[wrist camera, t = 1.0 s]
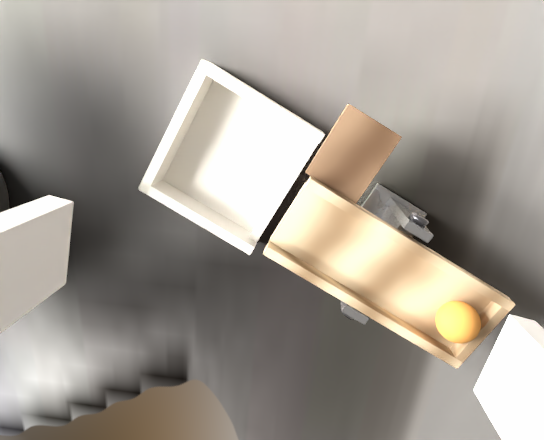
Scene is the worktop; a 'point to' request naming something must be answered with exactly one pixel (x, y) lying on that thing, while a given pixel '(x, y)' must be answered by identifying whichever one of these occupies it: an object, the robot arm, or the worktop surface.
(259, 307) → the worktop surface
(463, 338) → the ball
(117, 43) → the worktop surface
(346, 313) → the stand
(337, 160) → the lever
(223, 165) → the dish
